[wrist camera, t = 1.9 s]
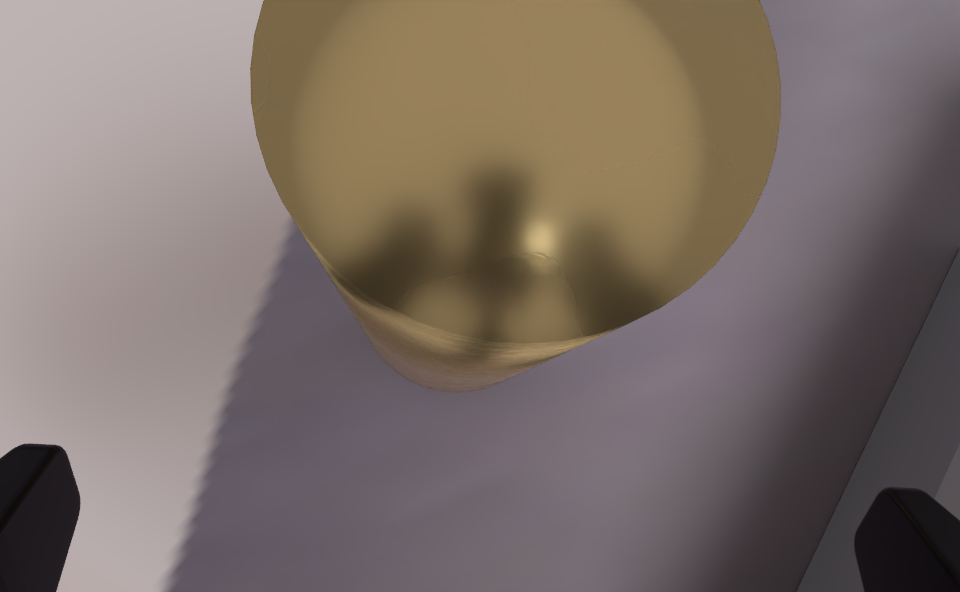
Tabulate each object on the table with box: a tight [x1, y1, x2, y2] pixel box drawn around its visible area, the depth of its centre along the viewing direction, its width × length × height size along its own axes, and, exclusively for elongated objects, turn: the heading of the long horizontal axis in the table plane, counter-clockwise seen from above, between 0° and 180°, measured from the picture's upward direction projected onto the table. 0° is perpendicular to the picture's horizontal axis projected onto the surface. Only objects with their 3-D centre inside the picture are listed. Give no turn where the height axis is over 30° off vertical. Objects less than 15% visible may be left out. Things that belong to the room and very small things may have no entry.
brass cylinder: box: [250, 0, 781, 392], centre depth 14 cm, size 5×5×13 cm
